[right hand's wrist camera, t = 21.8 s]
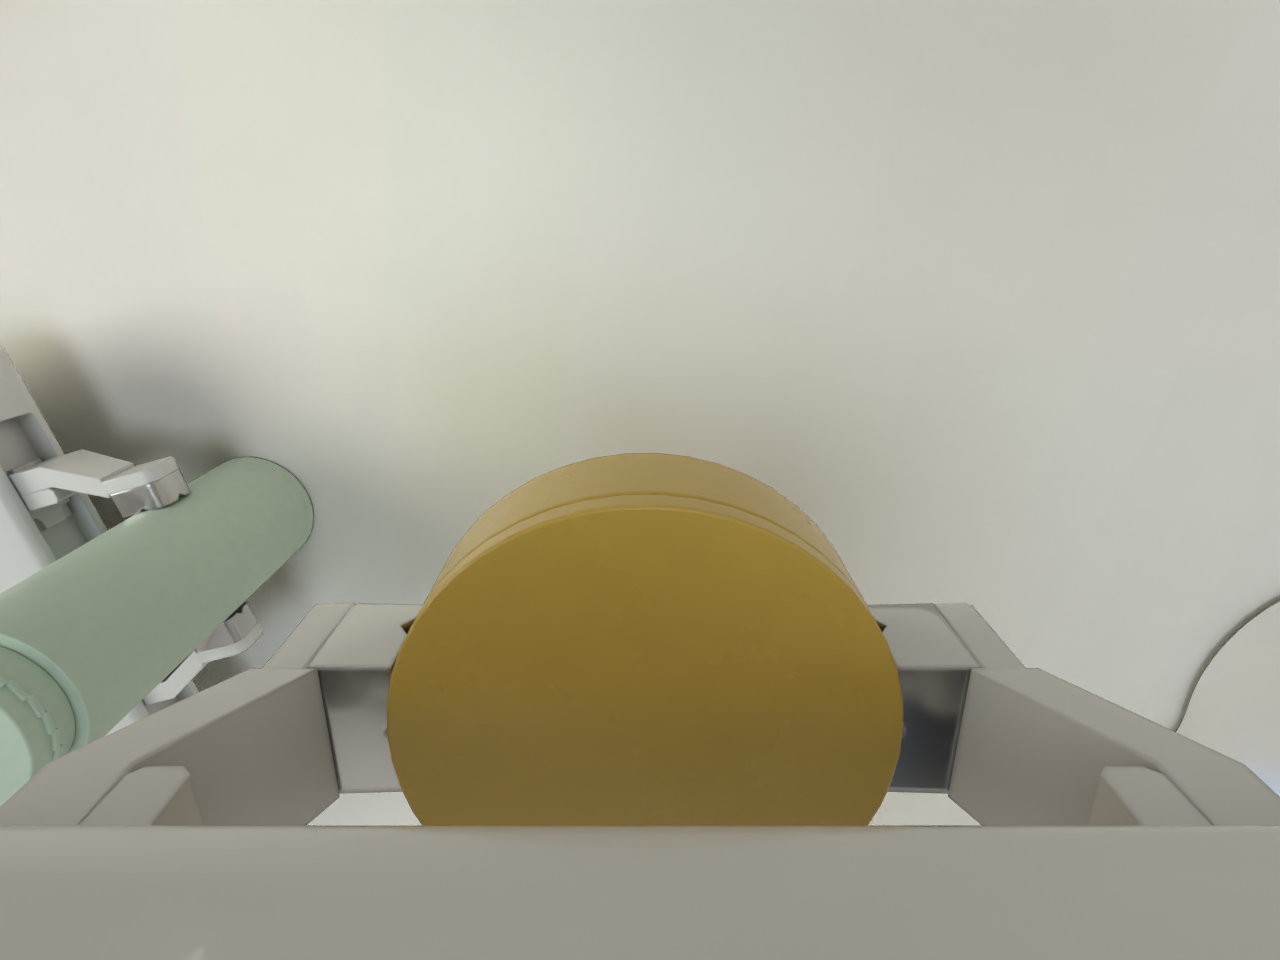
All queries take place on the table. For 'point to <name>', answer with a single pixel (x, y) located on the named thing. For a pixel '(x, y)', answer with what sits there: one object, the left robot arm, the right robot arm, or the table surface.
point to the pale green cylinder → (135, 608)
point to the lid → (644, 661)
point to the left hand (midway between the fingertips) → (211, 554)
